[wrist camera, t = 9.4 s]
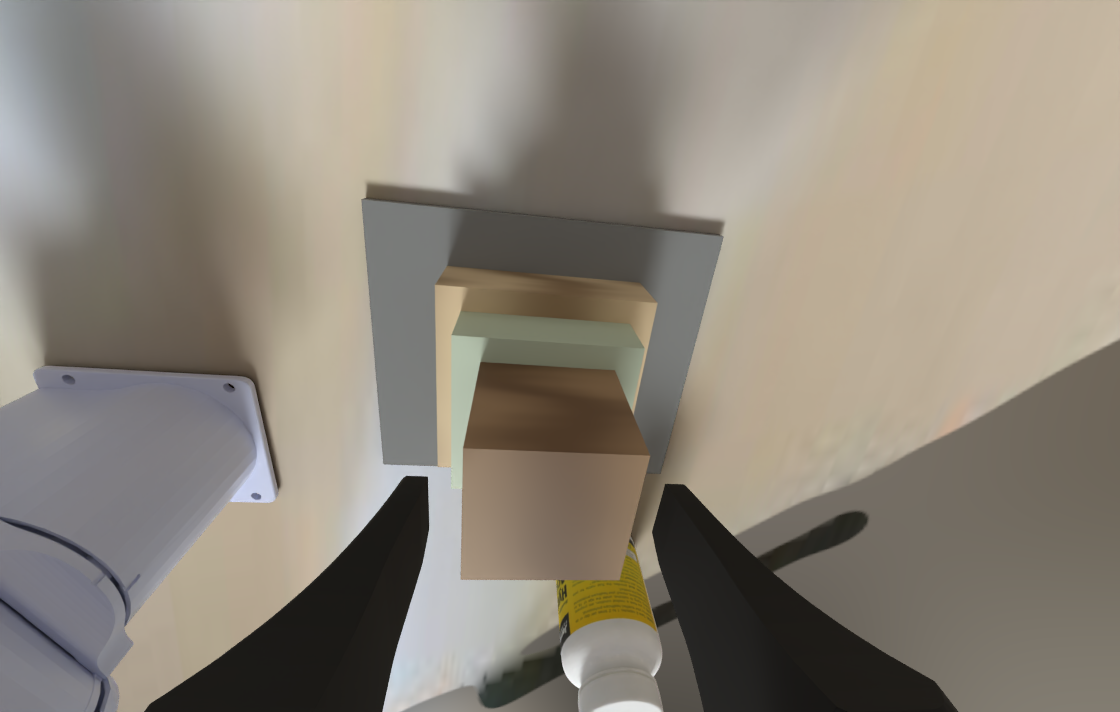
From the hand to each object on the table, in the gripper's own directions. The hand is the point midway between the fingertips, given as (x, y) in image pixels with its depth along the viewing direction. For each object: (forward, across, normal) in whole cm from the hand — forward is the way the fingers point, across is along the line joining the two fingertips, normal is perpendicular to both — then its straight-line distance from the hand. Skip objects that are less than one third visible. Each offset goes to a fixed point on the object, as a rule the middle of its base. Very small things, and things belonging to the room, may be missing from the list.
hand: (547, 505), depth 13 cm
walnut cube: (+4, 0, 0) cm, 4 cm away
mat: (+10, 0, 0) cm, 10 cm away
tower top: (+7, 0, 0) cm, 7 cm away
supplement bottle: (+11, -5, +14) cm, 18 cm away
